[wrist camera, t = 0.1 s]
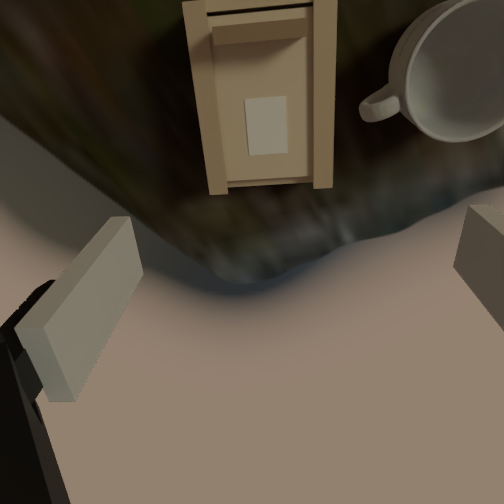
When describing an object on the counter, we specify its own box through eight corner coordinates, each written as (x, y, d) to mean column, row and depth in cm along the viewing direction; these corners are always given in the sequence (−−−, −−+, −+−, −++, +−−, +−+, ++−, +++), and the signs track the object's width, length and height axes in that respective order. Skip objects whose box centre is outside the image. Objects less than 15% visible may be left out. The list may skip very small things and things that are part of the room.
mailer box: (195, 7, 35) (181, 2, 29) (327, -6, 34) (337, -14, 28) (217, 174, 43) (209, 195, 37) (324, 167, 42) (332, 187, 36)
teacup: (500, -15, 33) (561, -28, 26) (490, 112, 38) (539, 129, 31) (340, 26, 35) (358, 24, 28) (352, 141, 40) (368, 163, 33)
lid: (200, 17, 31) (191, 15, 27) (321, 6, 30) (327, 2, 27) (220, 180, 38) (215, 194, 34) (319, 173, 37) (324, 188, 33)
